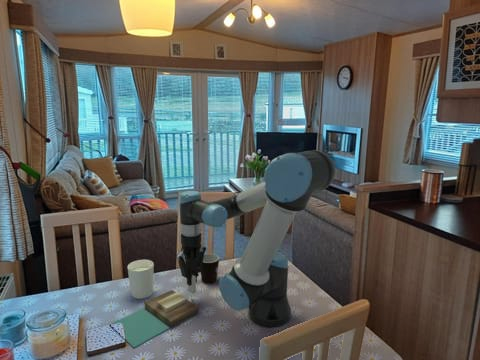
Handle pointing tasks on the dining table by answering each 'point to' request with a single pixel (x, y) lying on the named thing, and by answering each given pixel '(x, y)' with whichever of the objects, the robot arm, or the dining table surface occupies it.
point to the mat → (141, 327)
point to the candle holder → (141, 278)
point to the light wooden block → (171, 302)
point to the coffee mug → (209, 268)
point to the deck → (173, 315)
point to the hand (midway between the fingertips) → (192, 291)
